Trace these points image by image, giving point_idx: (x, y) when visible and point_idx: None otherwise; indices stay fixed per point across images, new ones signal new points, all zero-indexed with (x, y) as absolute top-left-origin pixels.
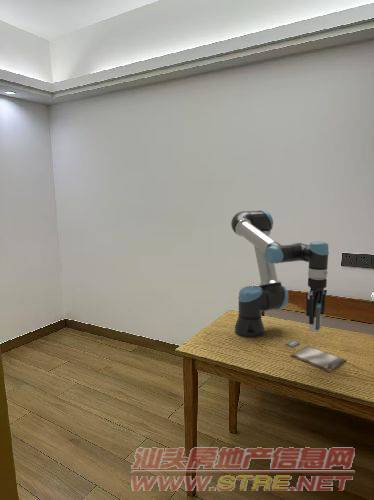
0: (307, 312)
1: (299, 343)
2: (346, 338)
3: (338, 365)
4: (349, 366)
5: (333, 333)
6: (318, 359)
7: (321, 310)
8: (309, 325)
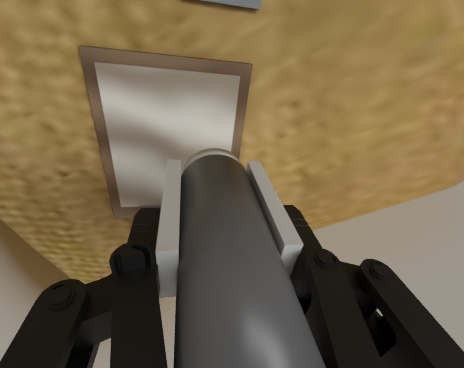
0: (18, 358)
1: (254, 8)
2: (415, 145)
3: None
4: None
5: (456, 88)
6: (154, 164)
7: None
8: (164, 185)
